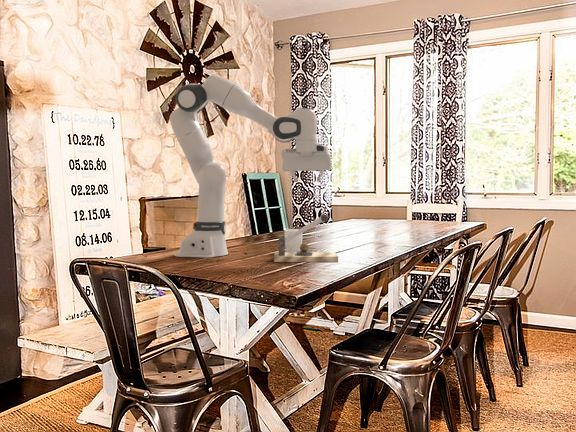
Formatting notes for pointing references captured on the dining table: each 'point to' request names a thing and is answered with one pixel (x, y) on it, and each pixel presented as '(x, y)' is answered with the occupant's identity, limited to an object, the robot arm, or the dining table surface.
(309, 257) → the nutcracker base
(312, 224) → the lever
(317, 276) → the dining table surface
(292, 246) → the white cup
